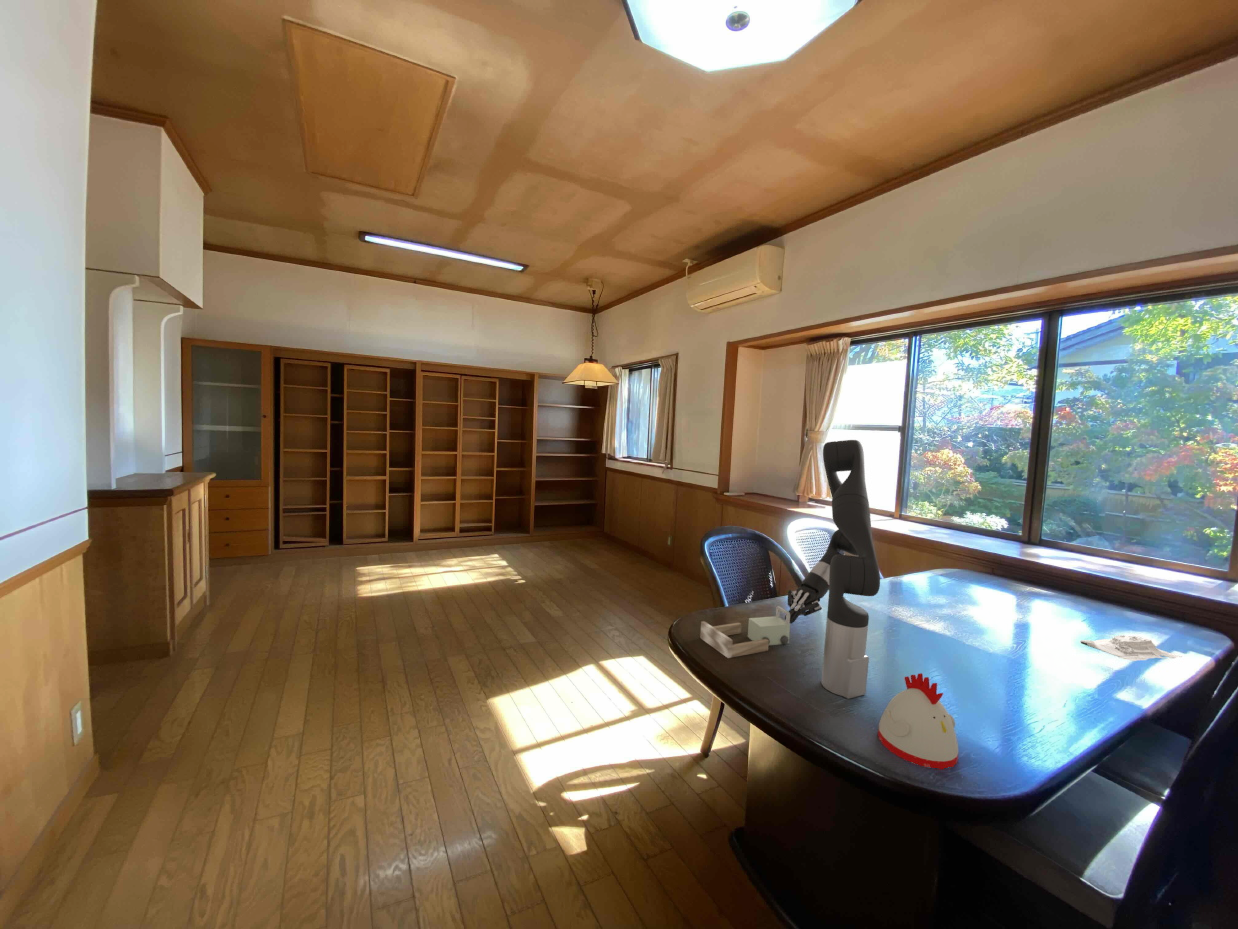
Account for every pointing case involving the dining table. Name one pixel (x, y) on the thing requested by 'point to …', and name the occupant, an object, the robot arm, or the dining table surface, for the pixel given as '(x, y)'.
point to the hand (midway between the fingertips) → (787, 621)
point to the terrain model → (1129, 648)
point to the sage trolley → (770, 628)
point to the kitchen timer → (919, 726)
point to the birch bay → (730, 640)
